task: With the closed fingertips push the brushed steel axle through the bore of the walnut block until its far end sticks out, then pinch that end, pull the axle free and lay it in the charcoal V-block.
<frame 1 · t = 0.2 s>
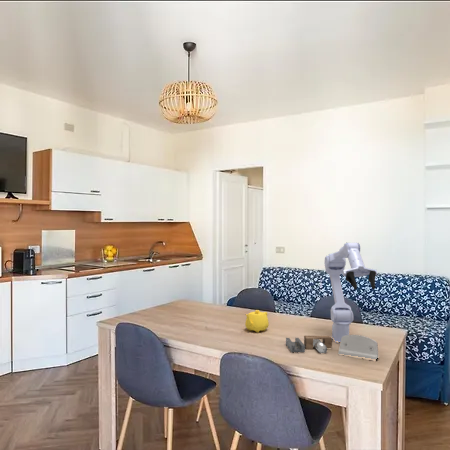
hand: (365, 288, 162), 31 cm above the table, tool tilted 45°, fingers open, 7 cm apart
hinge: (358, 356, 169), on the table
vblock: (295, 348, 178), on the table
teapot: (256, 330, 207), on the table
beam: (317, 347, 179), on the table
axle: (319, 350, 176), on the table
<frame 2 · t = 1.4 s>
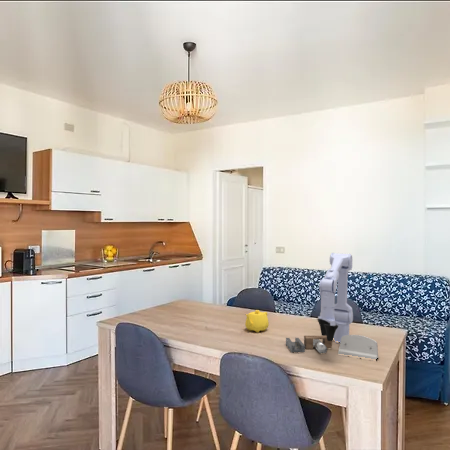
hand: (327, 338, 166), 8 cm above the table, tool pointing down, fingers open, 7 cm apart
nothing on the table moved.
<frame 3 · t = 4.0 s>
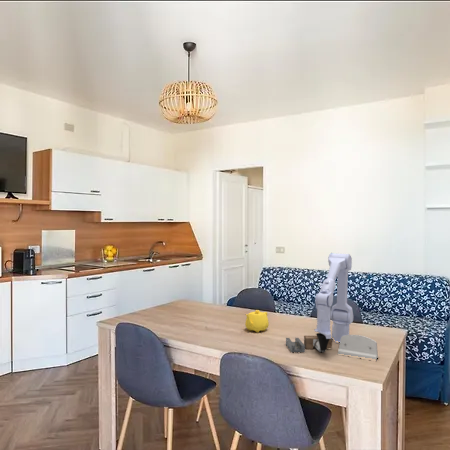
hand: (323, 350, 171), 1 cm above the table, tool pointing down, fingers closed
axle: (318, 348, 178), on the table, touching gripper
everything else where it was.
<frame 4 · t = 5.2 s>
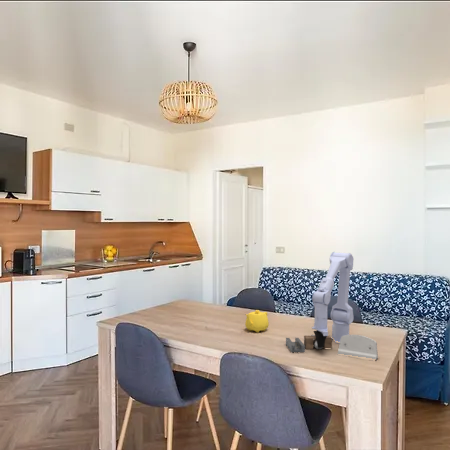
hand: (320, 347, 175), 2 cm above the table, tool pointing down, fingers closed
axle: (316, 346, 182), on the table, touching gripper
everything else where it was.
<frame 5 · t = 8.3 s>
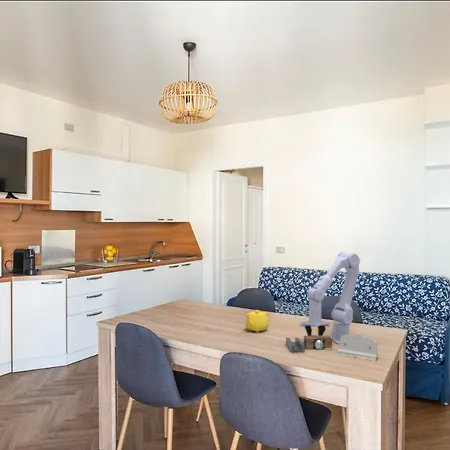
hand: (314, 341, 184), 1 cm above the table, tool pointing down, fingers closed on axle, 4 cm apart
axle: (316, 346, 181), on the table, touching gripper
everything else where it was.
when the fingers open (5 cm above the table, at t = 13.0 s): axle stays where it is, resting on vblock.
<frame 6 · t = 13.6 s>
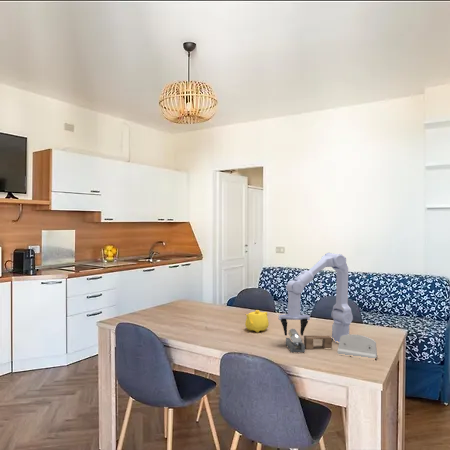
hand: (293, 334, 181), 5 cm above the table, tool pointing down, fingers open, 7 cm apart
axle: (294, 341, 178), point 3 cm above the table, tilted 10°, touching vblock
everything else where it was.
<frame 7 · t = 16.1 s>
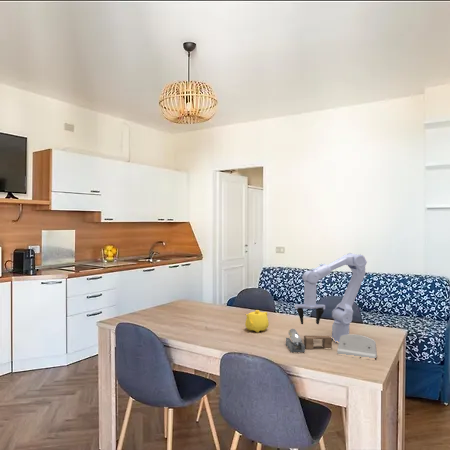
hand: (309, 323, 186), 9 cm above the table, tool pointing down, fingers open, 7 cm apart
nothing on the table moved.
at the end: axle 0.5 cm off-centre on the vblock, point 3.2 cm above the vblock's base; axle touching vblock; the gripper is holding nothing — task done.
